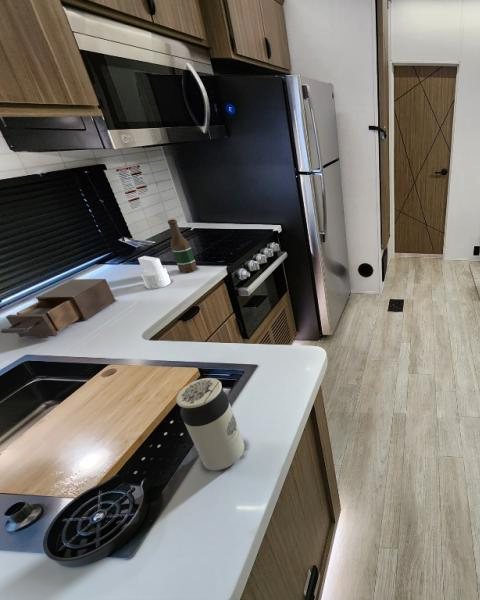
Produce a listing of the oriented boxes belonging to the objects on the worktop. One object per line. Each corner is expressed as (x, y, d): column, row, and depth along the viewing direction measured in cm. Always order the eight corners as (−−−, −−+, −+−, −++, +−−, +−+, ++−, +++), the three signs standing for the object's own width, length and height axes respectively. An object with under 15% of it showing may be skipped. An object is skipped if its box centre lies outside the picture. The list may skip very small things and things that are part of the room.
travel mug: (194, 468, 67) (163, 404, 59) (219, 436, 74) (194, 374, 66) (230, 474, 66) (204, 410, 58) (251, 440, 73) (231, 378, 64)
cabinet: (86, 320, 118) (73, 296, 113) (50, 321, 118) (35, 297, 113) (116, 300, 131) (105, 278, 126) (83, 301, 130) (71, 279, 126)
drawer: (40, 345, 103) (27, 324, 99) (3, 346, 103) (-12, 325, 99) (88, 314, 119) (78, 295, 116) (56, 315, 119) (45, 296, 115)
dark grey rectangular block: (56, 327, 110) (48, 314, 107) (34, 328, 110) (25, 314, 107) (67, 321, 114) (59, 307, 111) (46, 321, 114) (38, 308, 111)
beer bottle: (201, 269, 158) (185, 219, 146) (185, 274, 152) (167, 223, 141) (192, 265, 161) (175, 217, 150) (175, 271, 156) (157, 221, 144)
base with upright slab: (175, 281, 146) (166, 255, 140) (156, 290, 139) (145, 263, 133) (160, 278, 149) (151, 253, 143) (141, 287, 141) (129, 260, 135)
